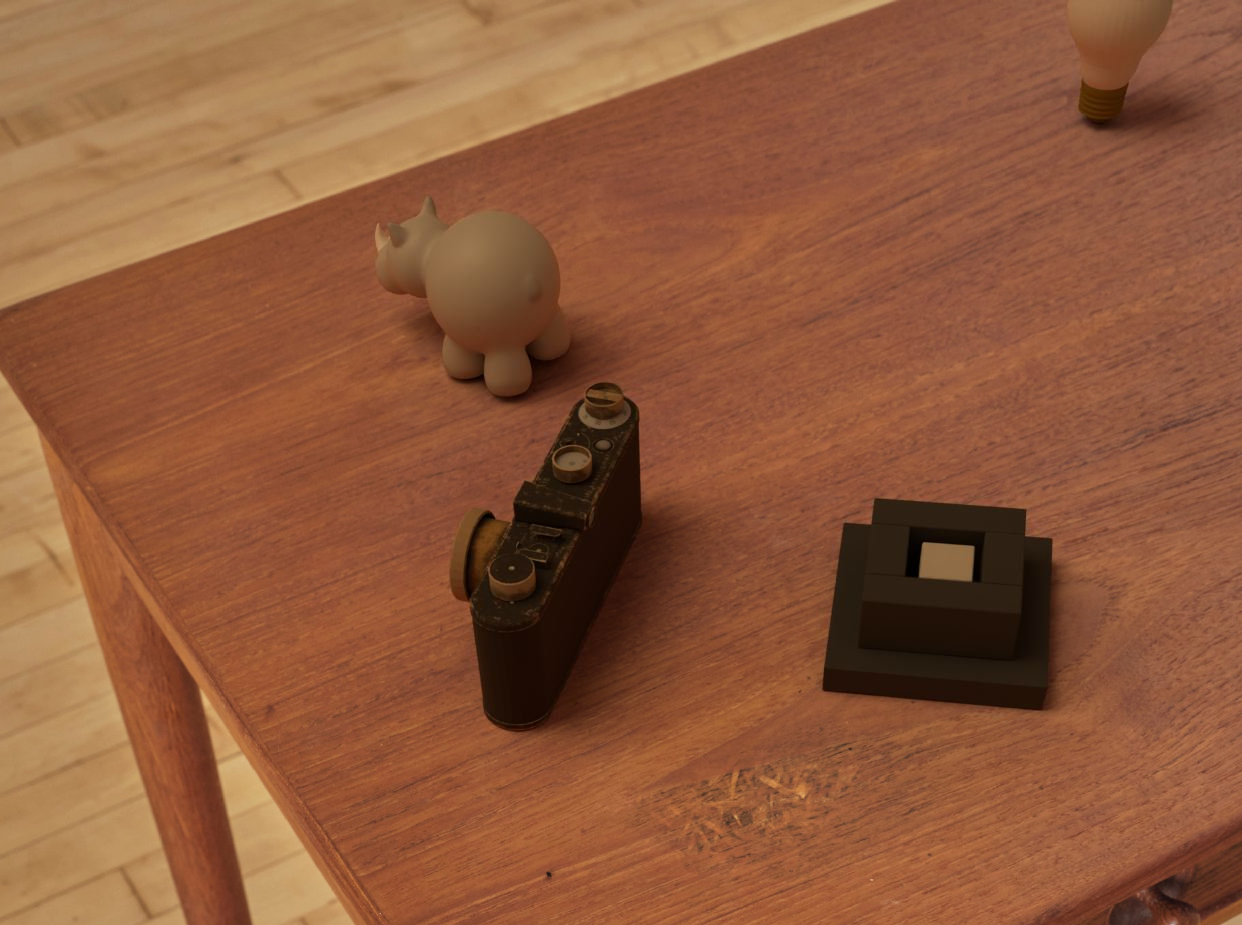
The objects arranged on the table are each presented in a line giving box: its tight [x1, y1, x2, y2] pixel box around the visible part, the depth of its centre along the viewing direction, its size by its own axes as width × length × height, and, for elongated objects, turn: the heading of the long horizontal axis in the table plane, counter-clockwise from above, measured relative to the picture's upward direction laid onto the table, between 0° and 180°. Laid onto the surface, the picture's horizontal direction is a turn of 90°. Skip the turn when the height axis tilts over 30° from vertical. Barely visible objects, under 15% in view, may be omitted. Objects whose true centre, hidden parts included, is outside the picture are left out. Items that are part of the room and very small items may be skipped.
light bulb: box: [1066, 0, 1174, 124], centre depth 107 cm, size 6×6×10 cm
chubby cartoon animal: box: [373, 194, 571, 397], centre depth 98 cm, size 7×12×8 cm, turn 50°
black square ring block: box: [857, 497, 1027, 661], centre depth 84 cm, size 7×7×3 cm
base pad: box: [821, 522, 1054, 711], centre depth 85 cm, size 10×10×4 cm
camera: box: [448, 381, 643, 731], centre depth 85 cm, size 16×7×8 cm, turn 160°
